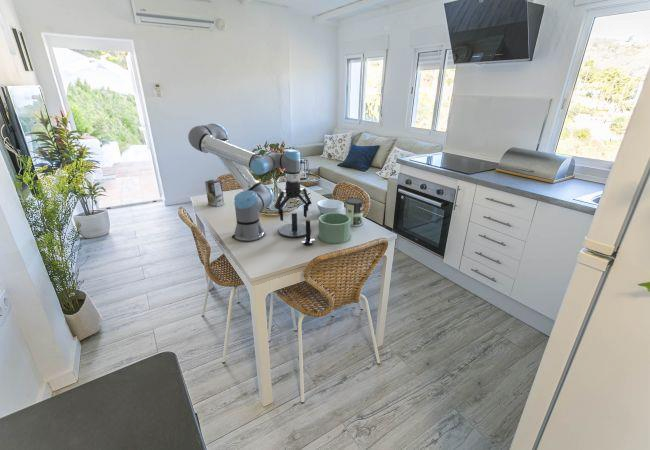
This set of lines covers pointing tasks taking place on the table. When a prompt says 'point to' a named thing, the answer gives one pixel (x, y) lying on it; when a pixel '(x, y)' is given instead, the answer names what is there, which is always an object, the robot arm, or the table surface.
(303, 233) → the lid
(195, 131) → the robot arm
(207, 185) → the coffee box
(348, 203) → the coffee can
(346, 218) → the bowl chamber
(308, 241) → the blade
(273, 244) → the table surface
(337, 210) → the cereal bowl
